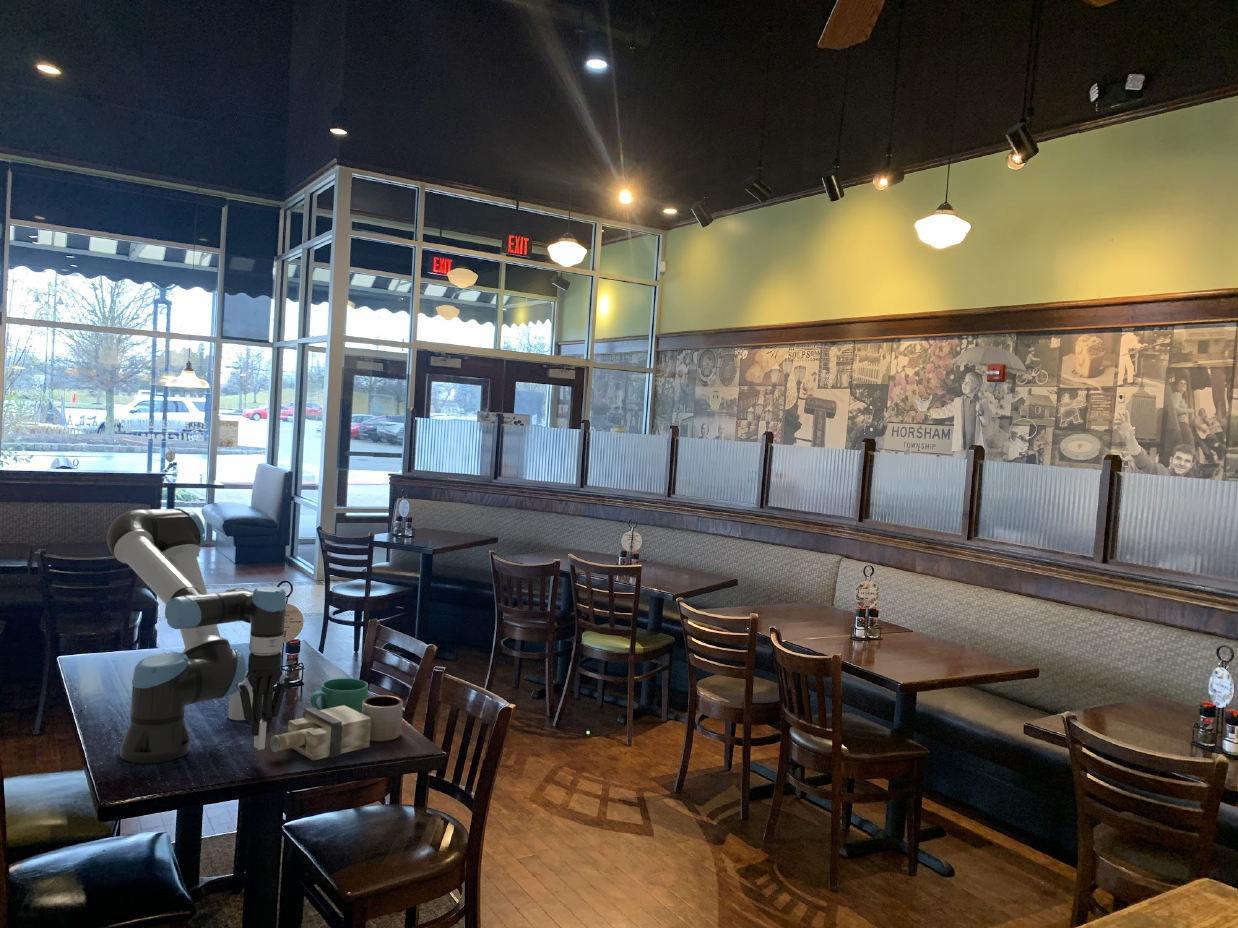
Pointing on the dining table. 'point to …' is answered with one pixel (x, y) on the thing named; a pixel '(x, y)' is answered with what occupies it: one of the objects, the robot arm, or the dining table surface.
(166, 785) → the dining table surface
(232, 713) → the mug
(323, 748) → the sleeve block
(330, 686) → the mug
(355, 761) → the dining table surface
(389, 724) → the planter
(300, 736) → the dowel
